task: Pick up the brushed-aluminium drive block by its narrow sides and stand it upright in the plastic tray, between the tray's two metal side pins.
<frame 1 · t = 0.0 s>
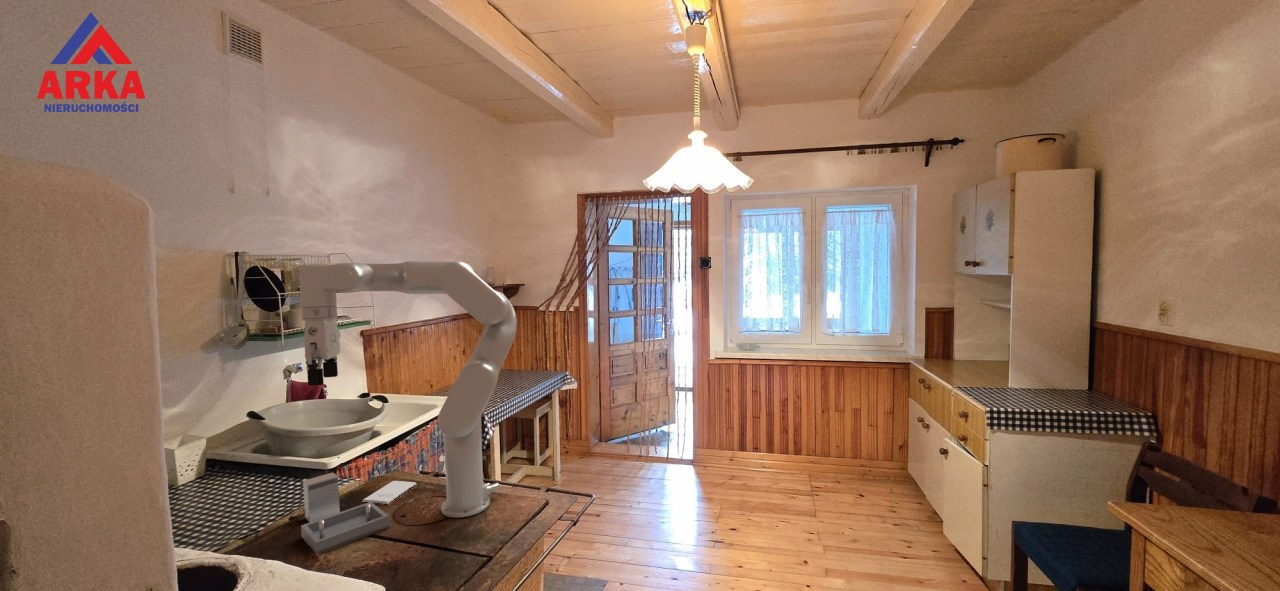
hand: (323, 380, 126), 37 cm above the cooktop, tool pointing down, fingers open, 9 cm apart
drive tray: (346, 532, 124), on the cooktop
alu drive: (322, 515, 133), on the cooktop
external hard drive: (390, 496, 145), on the cooktop
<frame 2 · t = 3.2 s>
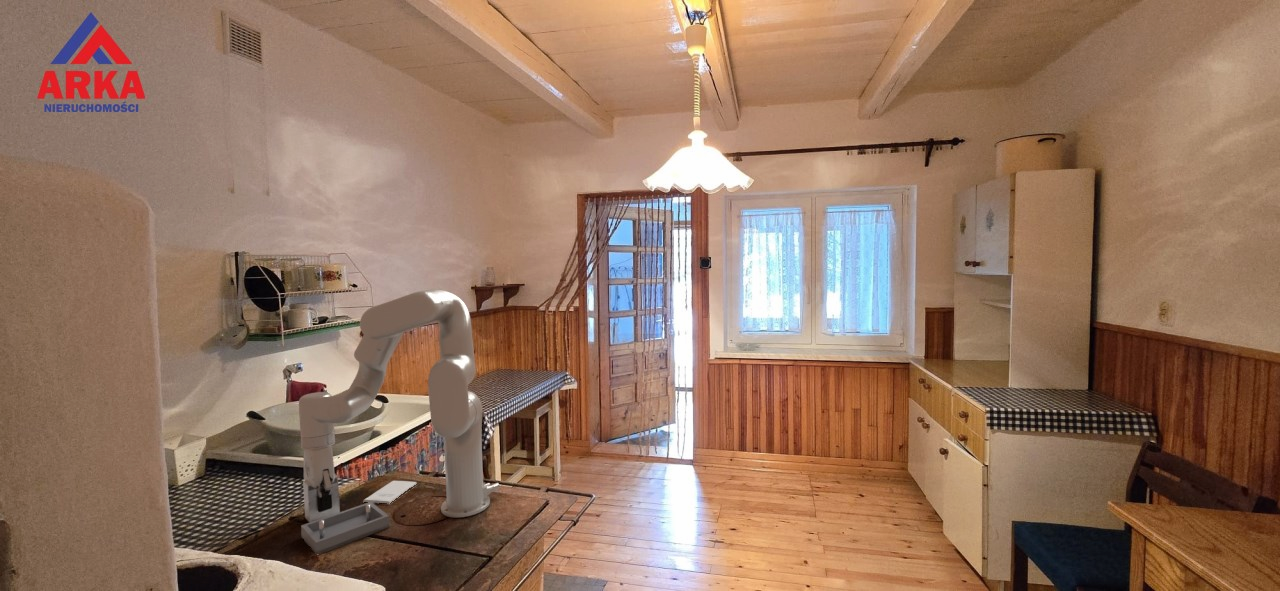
hand: (322, 506, 133), 2 cm above the cooktop, tool pointing down, fingers closed on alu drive, 4 cm apart
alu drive: (322, 515, 133), on the cooktop, touching gripper
everything else where it was.
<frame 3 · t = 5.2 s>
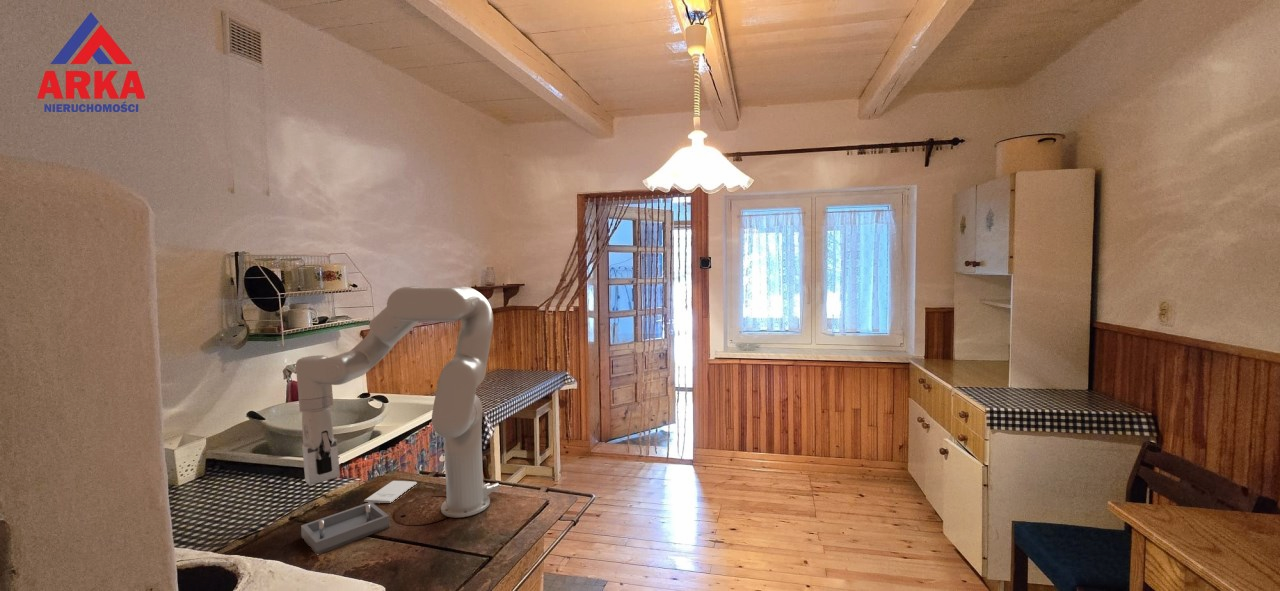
hand: (322, 470, 133), 12 cm above the cooktop, tool pointing down, fingers closed on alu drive, 4 cm apart
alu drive: (322, 478, 133), point 10 cm above the cooktop, touching gripper
everything else where it was.
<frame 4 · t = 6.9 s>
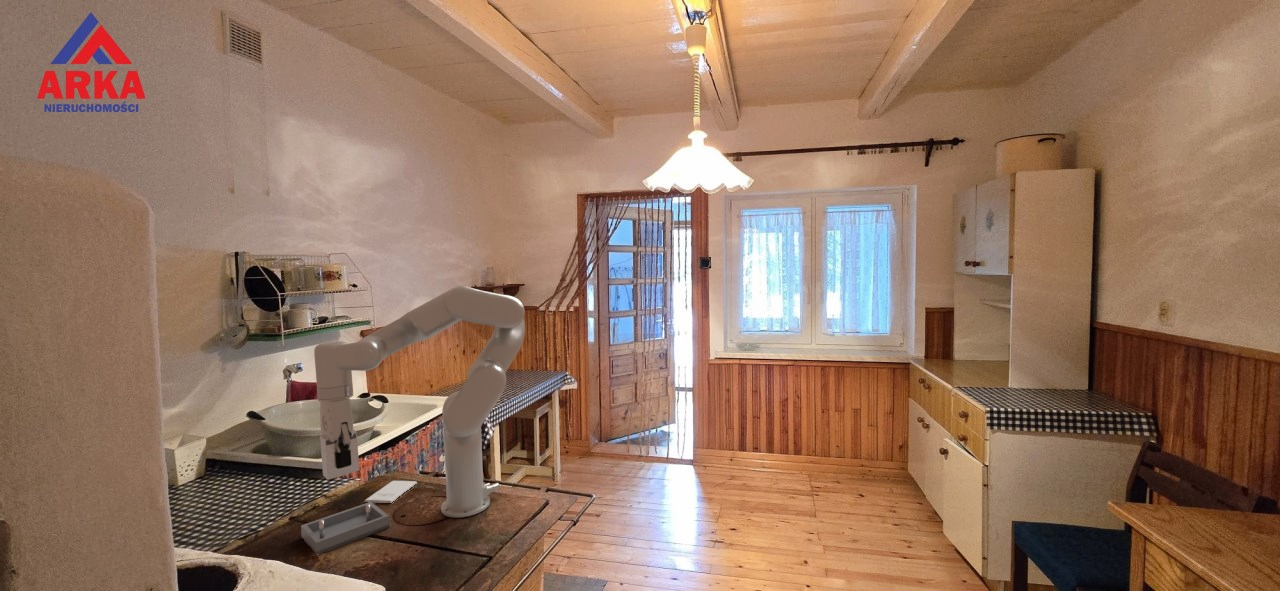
hand: (340, 463, 124), 17 cm above the cooktop, tool pointing down, fingers closed on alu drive, 4 cm apart
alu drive: (341, 472, 124), point 15 cm above the cooktop, touching gripper
everything else where it was.
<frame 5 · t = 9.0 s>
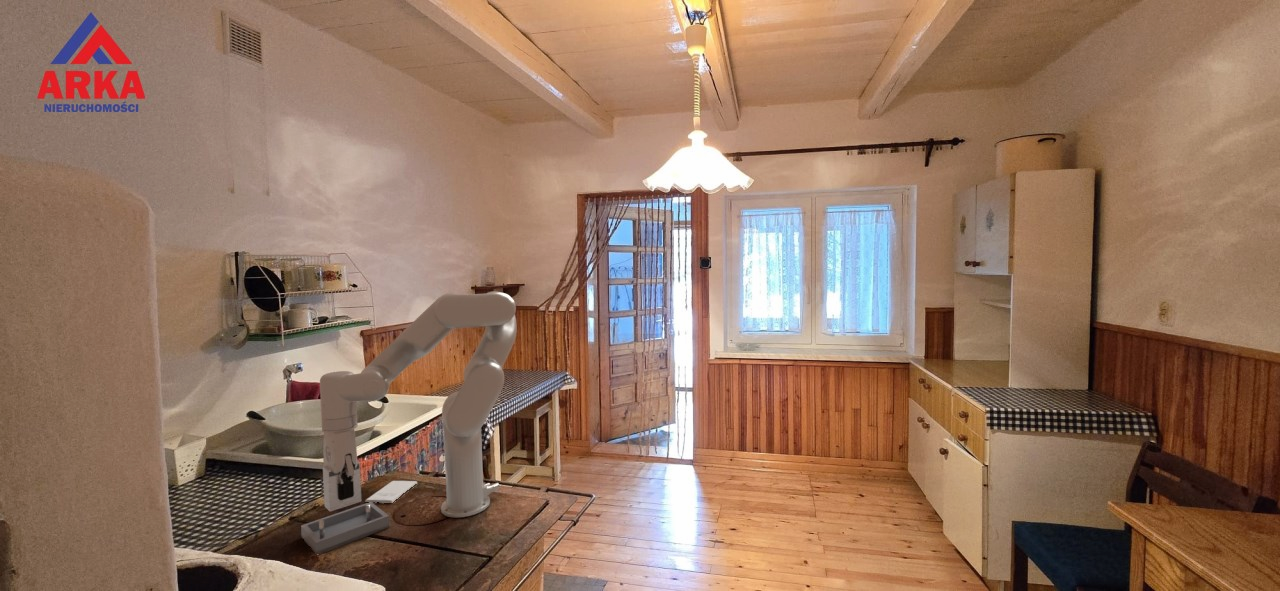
hand: (343, 494, 123), 10 cm above the cooktop, tool pointing down, fingers closed on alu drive, 4 cm apart
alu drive: (343, 503, 123), point 7 cm above the cooktop, touching gripper
everything else where it was.
when the fingers open (4 cm above the cooktop, at t = 10.6 s): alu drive stays where it is, resting on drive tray.
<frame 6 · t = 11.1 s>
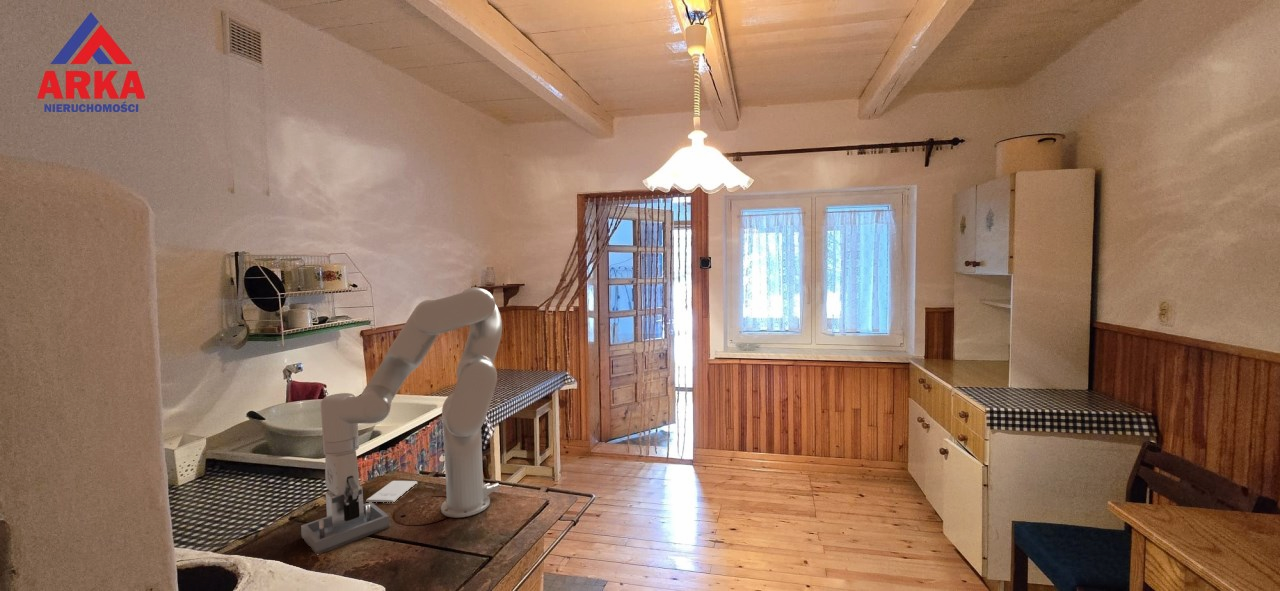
hand: (345, 512, 124), 5 cm above the cooktop, tool pointing down, fingers open, 9 cm apart
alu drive: (346, 529, 124), point 1 cm above the cooktop, touching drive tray
everything else where it was.
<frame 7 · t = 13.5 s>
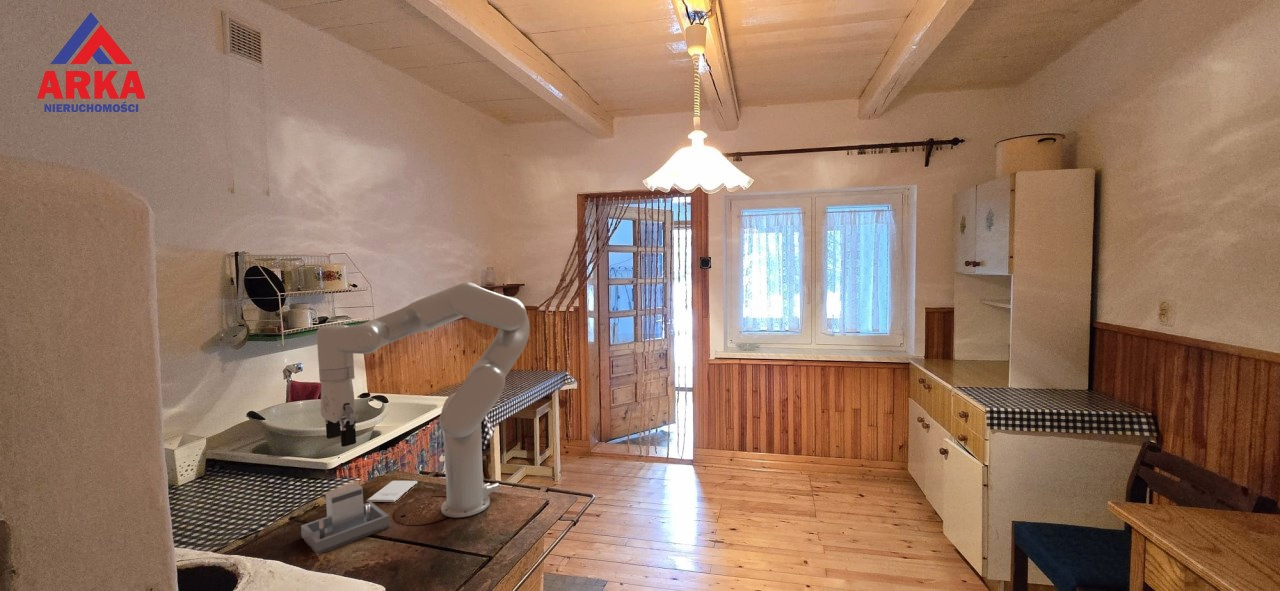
hand: (341, 441, 126), 22 cm above the cooktop, tool pointing down, fingers open, 9 cm apart
nothing on the cooktop moved.
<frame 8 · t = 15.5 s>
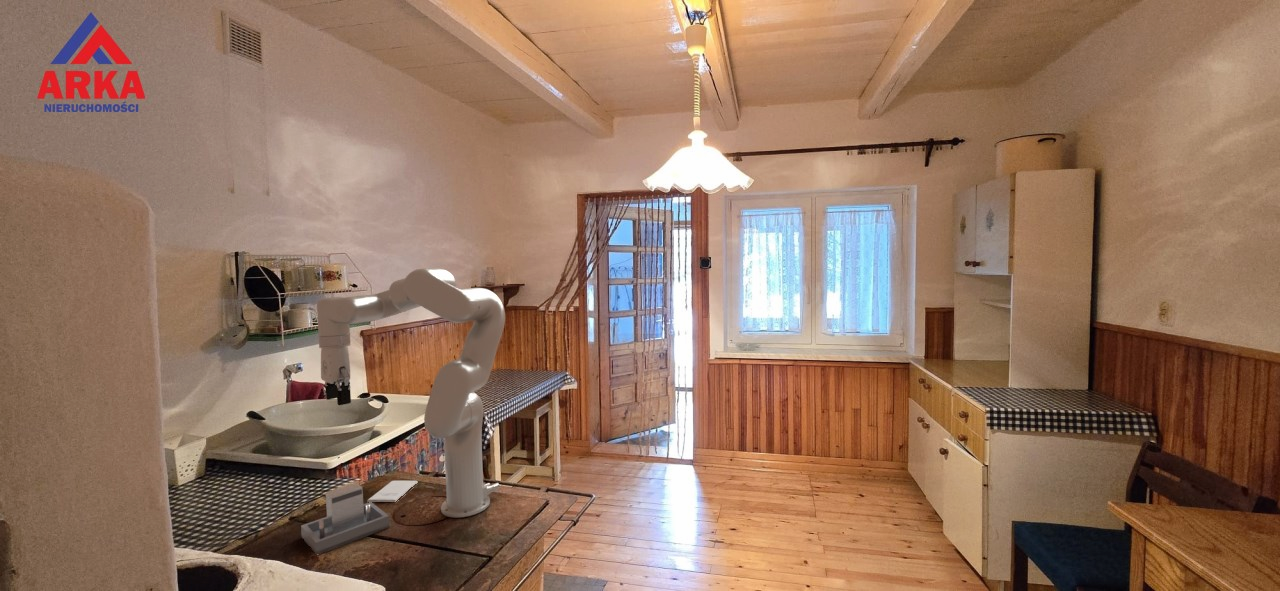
hand: (338, 401, 141), 28 cm above the cooktop, tool pointing down, fingers open, 9 cm apart
nothing on the cooktop moved.
at the end: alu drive 0.0 cm off-centre on the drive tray, point 0.8 cm above the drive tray's base; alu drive tilted 0°; the gripper is holding nothing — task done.
